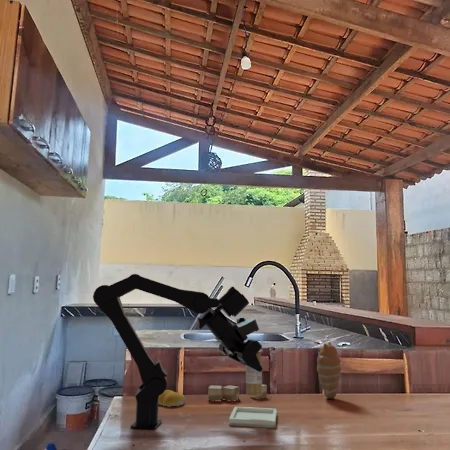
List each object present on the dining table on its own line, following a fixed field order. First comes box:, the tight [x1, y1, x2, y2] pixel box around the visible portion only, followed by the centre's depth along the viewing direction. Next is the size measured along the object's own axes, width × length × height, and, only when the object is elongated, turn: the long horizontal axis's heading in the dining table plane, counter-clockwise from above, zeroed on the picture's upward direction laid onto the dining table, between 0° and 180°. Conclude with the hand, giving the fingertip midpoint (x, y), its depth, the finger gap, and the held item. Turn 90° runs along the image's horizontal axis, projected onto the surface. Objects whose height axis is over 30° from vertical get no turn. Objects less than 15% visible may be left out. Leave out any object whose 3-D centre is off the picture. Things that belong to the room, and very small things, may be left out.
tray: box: [228, 406, 278, 429], centre depth 111 cm, size 12×12×2 cm
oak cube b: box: [222, 385, 240, 402], centre depth 132 cm, size 4×4×4 cm
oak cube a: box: [207, 385, 223, 401], centre depth 132 cm, size 4×4×4 cm
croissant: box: [316, 341, 342, 400], centre depth 136 cm, size 9×8×18 cm
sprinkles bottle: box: [245, 348, 263, 398], centre depth 113 cm, size 5×5×14 cm
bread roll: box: [158, 389, 186, 408], centre depth 127 cm, size 8×9×4 cm
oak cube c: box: [249, 383, 268, 400], centre depth 136 cm, size 4×4×4 cm
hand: (257, 369), depth 114 cm, fingers closed on sprinkles bottle, 4 cm apart
